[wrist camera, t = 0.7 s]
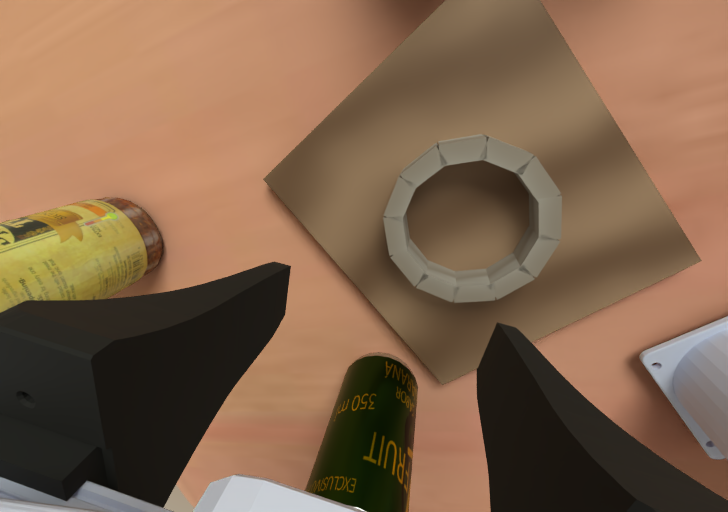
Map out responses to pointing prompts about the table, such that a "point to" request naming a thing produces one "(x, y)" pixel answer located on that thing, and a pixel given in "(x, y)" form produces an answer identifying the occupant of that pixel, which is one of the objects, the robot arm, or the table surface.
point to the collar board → (481, 187)
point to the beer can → (369, 438)
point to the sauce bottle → (76, 252)
